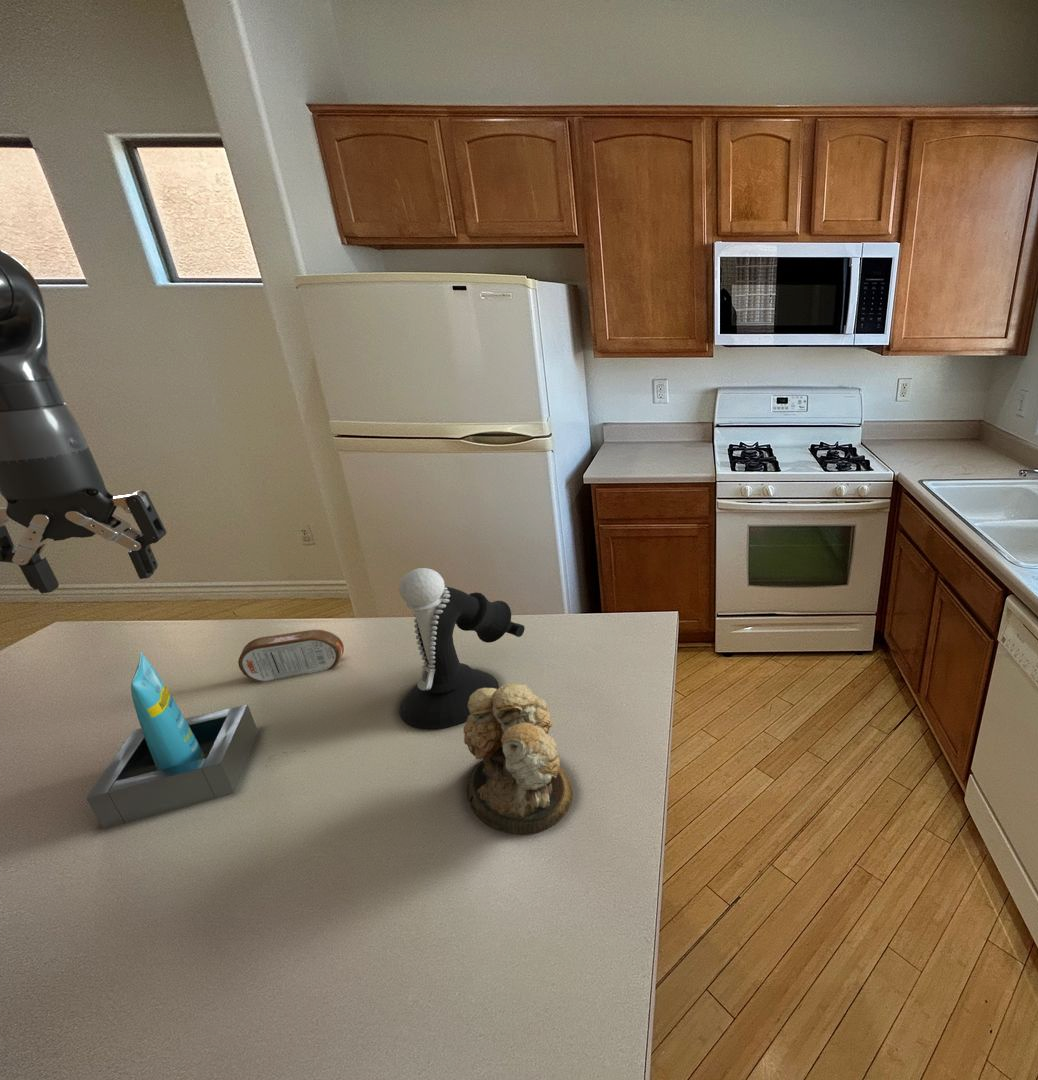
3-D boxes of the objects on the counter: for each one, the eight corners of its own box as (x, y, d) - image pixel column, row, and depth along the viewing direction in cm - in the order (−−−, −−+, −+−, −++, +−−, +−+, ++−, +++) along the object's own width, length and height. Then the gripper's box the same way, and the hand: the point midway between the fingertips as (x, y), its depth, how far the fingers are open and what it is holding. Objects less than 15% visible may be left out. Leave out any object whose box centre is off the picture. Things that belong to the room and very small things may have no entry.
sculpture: (381, 712, 90) (342, 575, 81) (498, 643, 109) (478, 526, 100) (440, 746, 84) (406, 601, 74) (554, 666, 103) (539, 543, 93)
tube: (213, 786, 76) (161, 671, 69) (166, 805, 73) (105, 687, 66) (210, 756, 81) (161, 646, 74) (166, 773, 78) (109, 660, 71)
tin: (349, 662, 103) (337, 623, 100) (345, 671, 100) (333, 632, 97) (251, 679, 98) (235, 639, 95) (244, 690, 95) (228, 649, 92)
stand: (105, 833, 69) (85, 798, 67) (149, 762, 80) (132, 730, 78) (235, 797, 75) (220, 763, 72) (260, 735, 85) (247, 704, 83)
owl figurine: (440, 790, 76) (416, 689, 69) (513, 740, 85) (497, 646, 78) (523, 859, 67) (504, 750, 60) (595, 794, 76) (585, 693, 69)
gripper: (139, 437, 65) (188, 560, 72) (-36, 448, 60) (34, 581, 66) (109, 450, 59) (166, 584, 66) (-90, 464, 53) (-6, 610, 60)
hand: (100, 583), depth 66 cm, fingers open, 8 cm apart
